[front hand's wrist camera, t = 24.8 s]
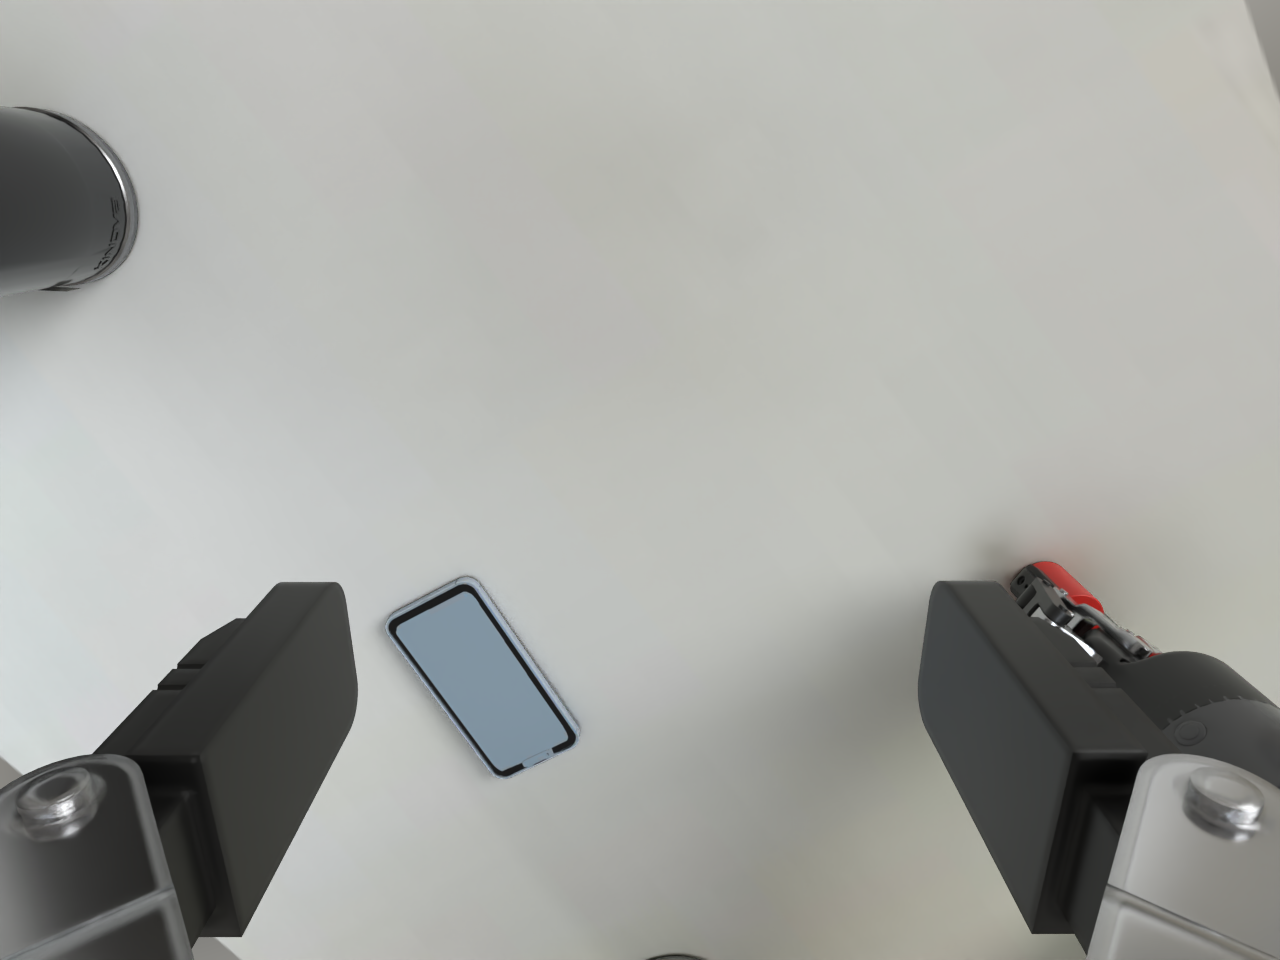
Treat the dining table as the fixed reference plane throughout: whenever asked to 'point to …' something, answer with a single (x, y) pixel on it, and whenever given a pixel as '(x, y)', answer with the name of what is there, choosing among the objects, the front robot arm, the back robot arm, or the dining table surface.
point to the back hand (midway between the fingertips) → (1049, 594)
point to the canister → (1069, 585)
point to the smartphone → (483, 678)
